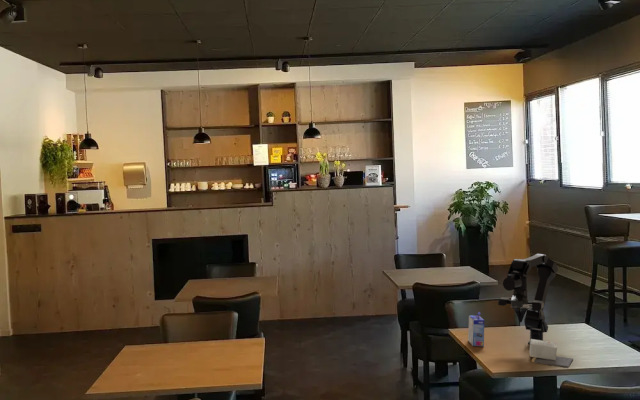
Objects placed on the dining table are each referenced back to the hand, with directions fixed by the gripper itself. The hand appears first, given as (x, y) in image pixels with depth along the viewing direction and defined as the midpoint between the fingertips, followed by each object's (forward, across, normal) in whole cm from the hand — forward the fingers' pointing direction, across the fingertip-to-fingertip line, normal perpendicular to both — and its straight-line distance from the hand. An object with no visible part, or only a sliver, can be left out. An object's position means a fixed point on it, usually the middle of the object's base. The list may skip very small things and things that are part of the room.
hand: (520, 322), depth 265 cm
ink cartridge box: (+13, -20, 0) cm, 24 cm away
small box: (+8, +6, -9) cm, 14 cm away
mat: (+12, +16, -10) cm, 22 cm away
